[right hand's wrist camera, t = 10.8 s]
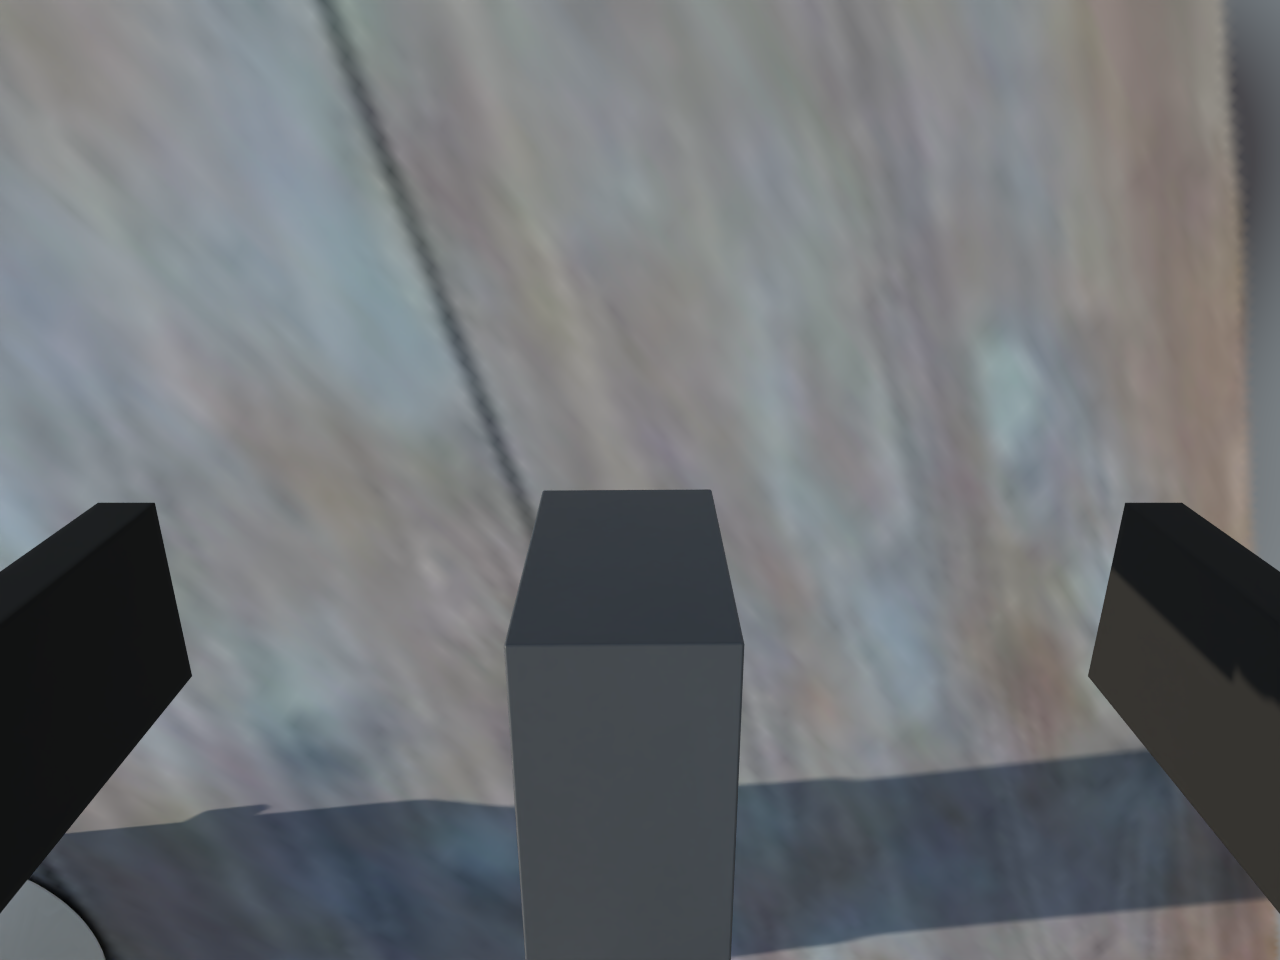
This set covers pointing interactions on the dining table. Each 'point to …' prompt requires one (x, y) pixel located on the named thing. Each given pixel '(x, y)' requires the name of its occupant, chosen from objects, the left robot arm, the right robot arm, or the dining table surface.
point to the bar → (625, 728)
